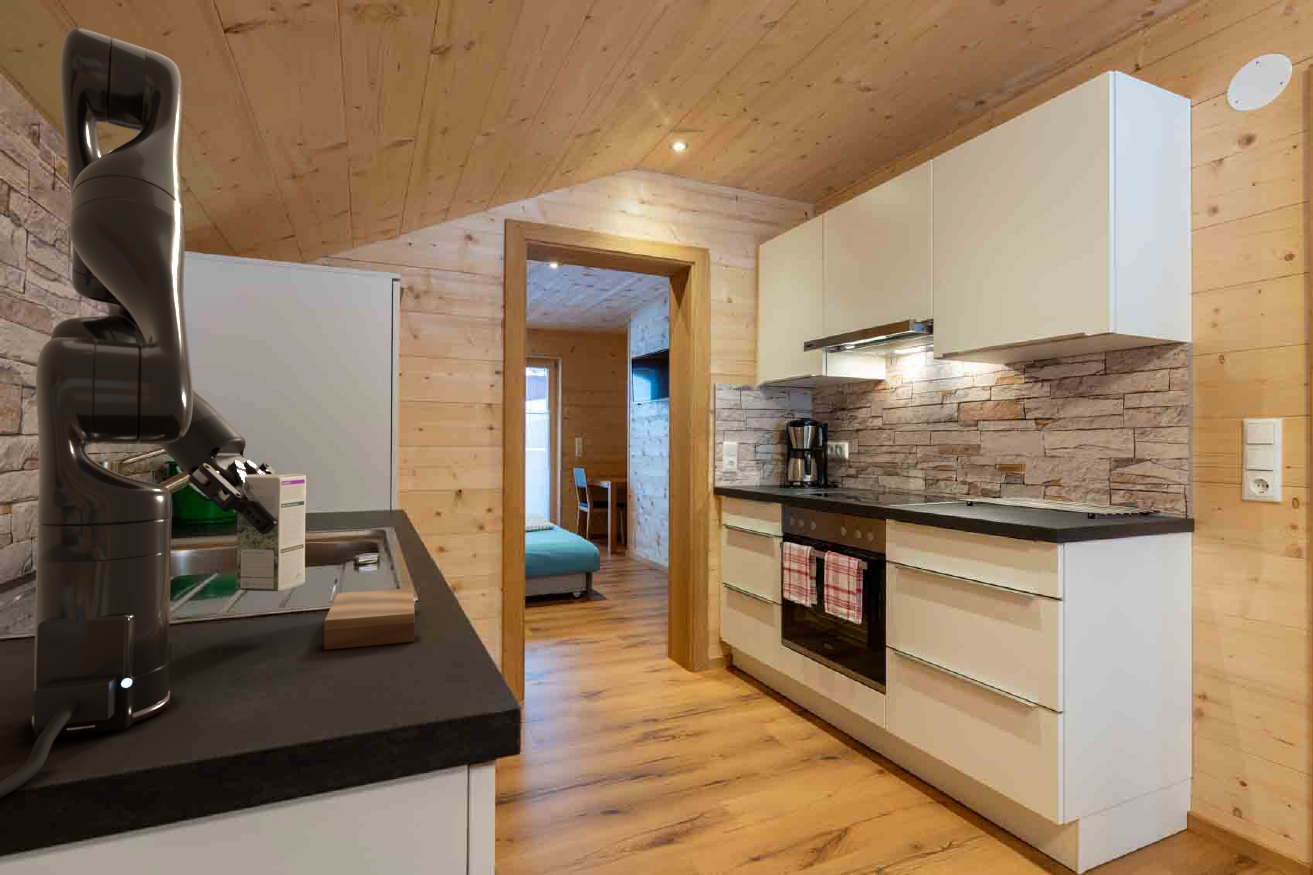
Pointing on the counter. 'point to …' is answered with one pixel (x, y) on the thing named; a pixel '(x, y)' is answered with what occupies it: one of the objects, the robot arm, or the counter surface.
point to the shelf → (370, 619)
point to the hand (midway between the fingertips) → (285, 526)
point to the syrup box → (274, 535)
